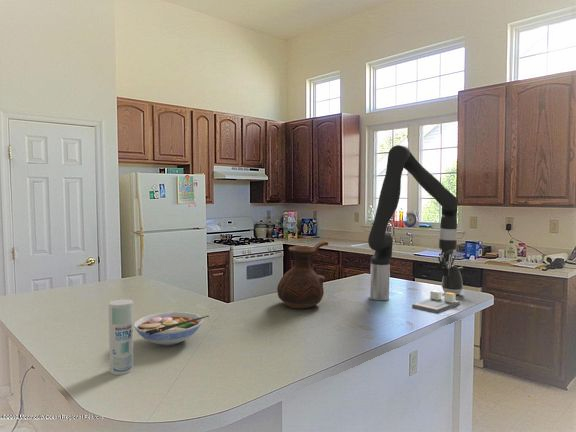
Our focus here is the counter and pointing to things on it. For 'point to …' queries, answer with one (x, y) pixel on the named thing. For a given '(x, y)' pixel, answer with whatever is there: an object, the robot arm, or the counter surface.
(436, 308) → the switch panel
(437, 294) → the on breaker
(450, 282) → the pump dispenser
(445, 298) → the block
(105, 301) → the counter surface
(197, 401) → the counter surface
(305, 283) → the jug
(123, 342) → the spray can
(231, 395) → the counter surface
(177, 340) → the ramen bowl
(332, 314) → the counter surface
